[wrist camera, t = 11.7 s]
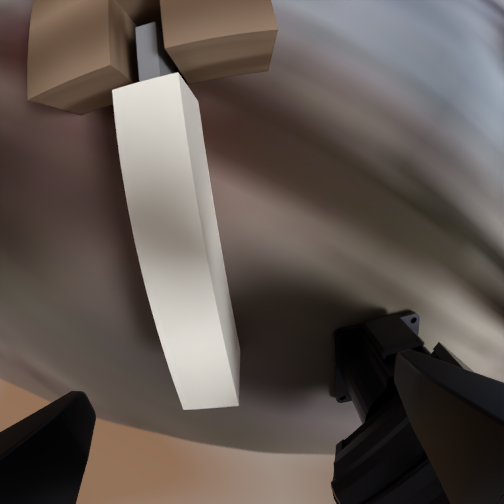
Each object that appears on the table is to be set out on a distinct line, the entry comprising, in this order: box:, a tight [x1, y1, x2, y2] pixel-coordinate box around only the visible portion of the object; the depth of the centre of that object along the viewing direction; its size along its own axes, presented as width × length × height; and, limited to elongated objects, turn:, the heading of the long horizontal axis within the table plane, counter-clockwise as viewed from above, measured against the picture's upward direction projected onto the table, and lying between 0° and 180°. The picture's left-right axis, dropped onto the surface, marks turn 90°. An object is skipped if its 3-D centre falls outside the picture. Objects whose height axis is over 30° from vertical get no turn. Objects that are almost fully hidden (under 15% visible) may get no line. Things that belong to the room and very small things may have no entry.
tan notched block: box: [27, 0, 278, 115], centre depth 13 cm, size 10×12×6 cm
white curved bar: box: [112, 22, 240, 410], centre depth 16 cm, size 20×3×6 cm, turn 8°
